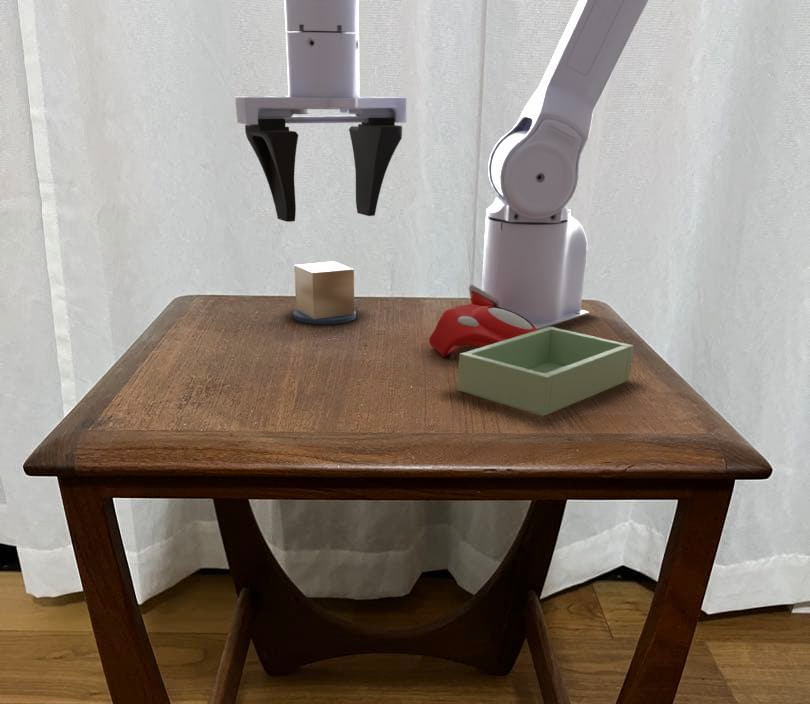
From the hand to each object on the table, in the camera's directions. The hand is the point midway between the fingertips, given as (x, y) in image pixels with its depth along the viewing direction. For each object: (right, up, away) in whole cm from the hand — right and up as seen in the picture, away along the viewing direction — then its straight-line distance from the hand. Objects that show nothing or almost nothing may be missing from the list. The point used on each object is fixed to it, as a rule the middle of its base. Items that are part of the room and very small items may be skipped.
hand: (327, 217), depth 75 cm
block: (-1, -7, +4) cm, 8 cm away
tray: (+17, -17, -13) cm, 27 cm away
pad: (-1, -7, +5) cm, 9 cm away
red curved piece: (+14, -12, -4) cm, 19 cm away
